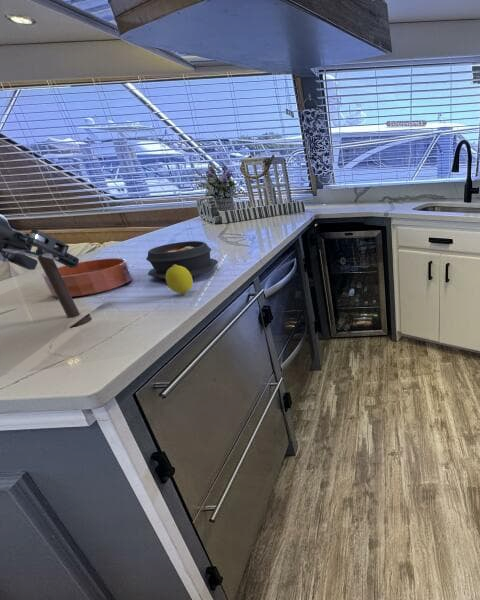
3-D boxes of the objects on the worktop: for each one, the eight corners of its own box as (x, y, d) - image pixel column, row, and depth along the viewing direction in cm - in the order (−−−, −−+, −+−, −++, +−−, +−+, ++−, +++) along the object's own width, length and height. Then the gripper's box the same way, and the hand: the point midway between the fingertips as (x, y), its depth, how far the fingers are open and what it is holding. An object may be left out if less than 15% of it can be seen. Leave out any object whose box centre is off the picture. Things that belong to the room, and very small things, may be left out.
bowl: (36, 303, 81) (24, 281, 79) (76, 281, 96) (67, 262, 94) (116, 293, 86) (107, 272, 83) (142, 274, 101) (135, 255, 98)
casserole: (228, 274, 97) (221, 247, 93) (153, 291, 86) (142, 261, 83) (210, 259, 114) (204, 235, 111) (147, 271, 104) (137, 245, 100)
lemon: (200, 292, 84) (191, 263, 80) (178, 300, 79) (167, 269, 76) (190, 289, 86) (180, 260, 83) (167, 296, 82) (157, 266, 79)
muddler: (56, 329, 67) (17, 255, 60) (70, 319, 71) (35, 249, 65) (84, 325, 68) (48, 252, 62) (96, 316, 72) (64, 246, 66)
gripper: (5, 195, 52) (95, 247, 67) (-83, 199, 52) (27, 250, 67) (-15, 234, 49) (84, 279, 64) (-108, 239, 49) (13, 283, 64)
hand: (55, 264), depth 66 cm, fingers open, 8 cm apart
